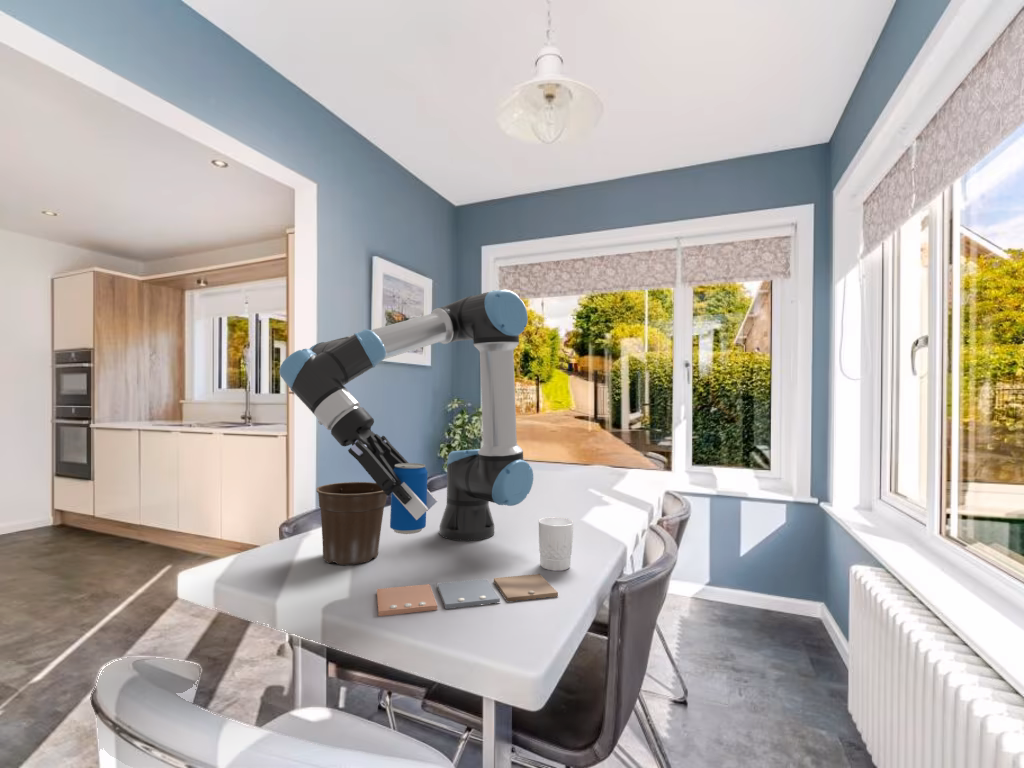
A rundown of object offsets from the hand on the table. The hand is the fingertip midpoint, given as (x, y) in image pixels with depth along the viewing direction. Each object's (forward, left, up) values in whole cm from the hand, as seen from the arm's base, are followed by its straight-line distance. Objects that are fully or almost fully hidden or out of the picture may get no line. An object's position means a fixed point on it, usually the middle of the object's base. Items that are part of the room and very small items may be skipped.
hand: (427, 510), depth 89 cm
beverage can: (-1, -3, -4) cm, 6 cm away
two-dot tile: (-1, +8, -17) cm, 19 cm away
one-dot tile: (-1, +20, -17) cm, 26 cm away
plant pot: (-29, -13, -17) cm, 36 cm away
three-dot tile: (-1, -3, -17) cm, 17 cm away
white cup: (-12, +31, -17) cm, 37 cm away
